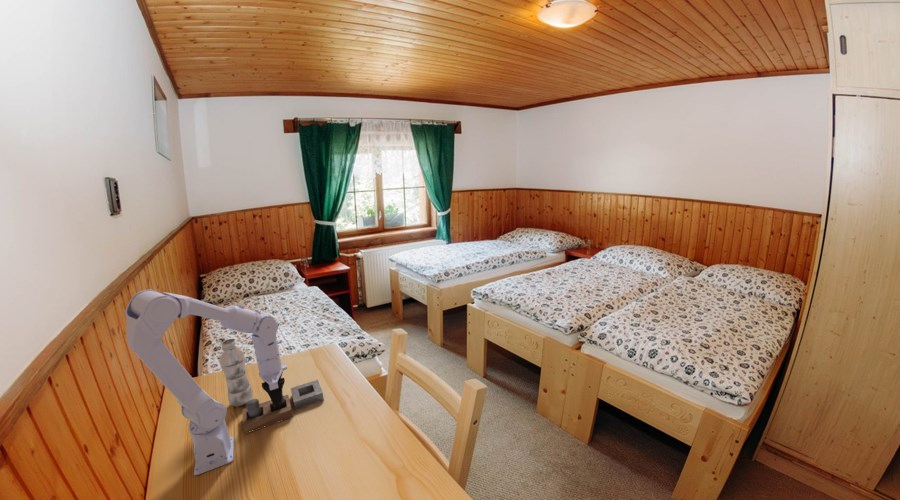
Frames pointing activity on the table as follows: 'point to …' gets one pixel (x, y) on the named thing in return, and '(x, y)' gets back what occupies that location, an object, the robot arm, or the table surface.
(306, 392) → the socket block
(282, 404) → the shiny steel cylinder
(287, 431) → the table surface
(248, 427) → the rack
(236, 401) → the plastic bottle
